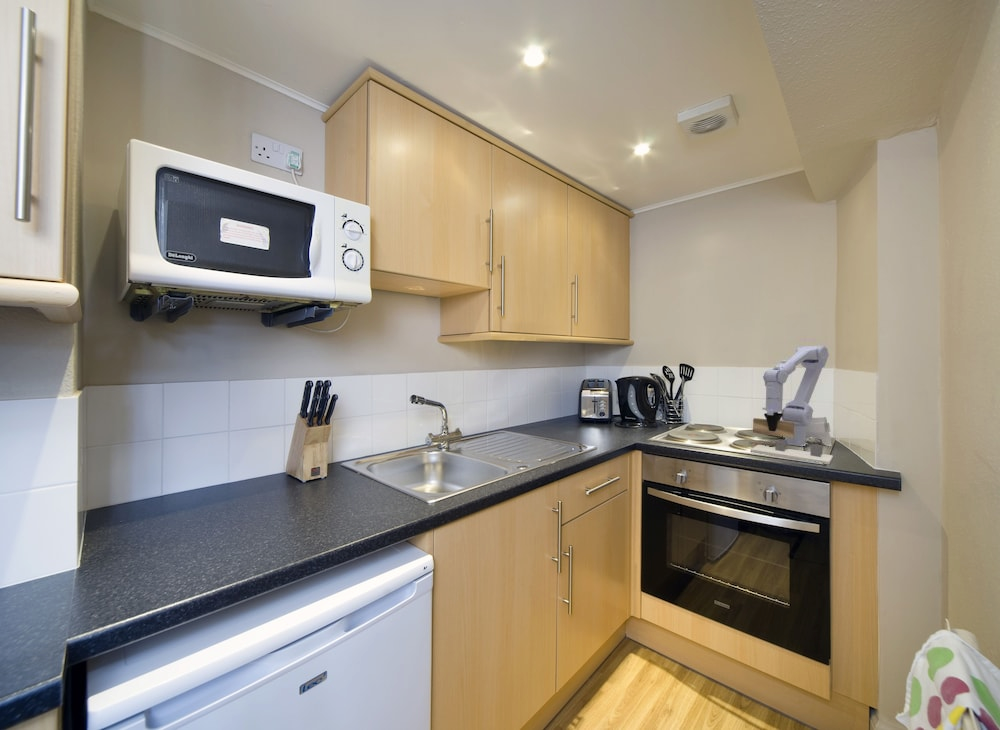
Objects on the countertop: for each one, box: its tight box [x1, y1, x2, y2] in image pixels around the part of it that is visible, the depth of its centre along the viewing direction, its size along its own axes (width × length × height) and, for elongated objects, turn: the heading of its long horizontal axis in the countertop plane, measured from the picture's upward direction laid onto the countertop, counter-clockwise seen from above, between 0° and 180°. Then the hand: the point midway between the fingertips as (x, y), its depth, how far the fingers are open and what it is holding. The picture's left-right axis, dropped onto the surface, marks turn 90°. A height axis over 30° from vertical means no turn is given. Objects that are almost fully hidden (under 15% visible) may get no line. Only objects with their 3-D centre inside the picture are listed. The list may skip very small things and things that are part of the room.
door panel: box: [752, 417, 794, 438], centre depth 167 cm, size 2×14×6 cm, turn 46°
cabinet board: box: [750, 439, 834, 465], centre depth 154 cm, size 13×24×4 cm, turn 46°
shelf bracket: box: [780, 416, 833, 448], centre depth 181 cm, size 6×25×13 cm, turn 25°
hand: (773, 430), depth 167 cm, fingers closed on door panel, 2 cm apart
